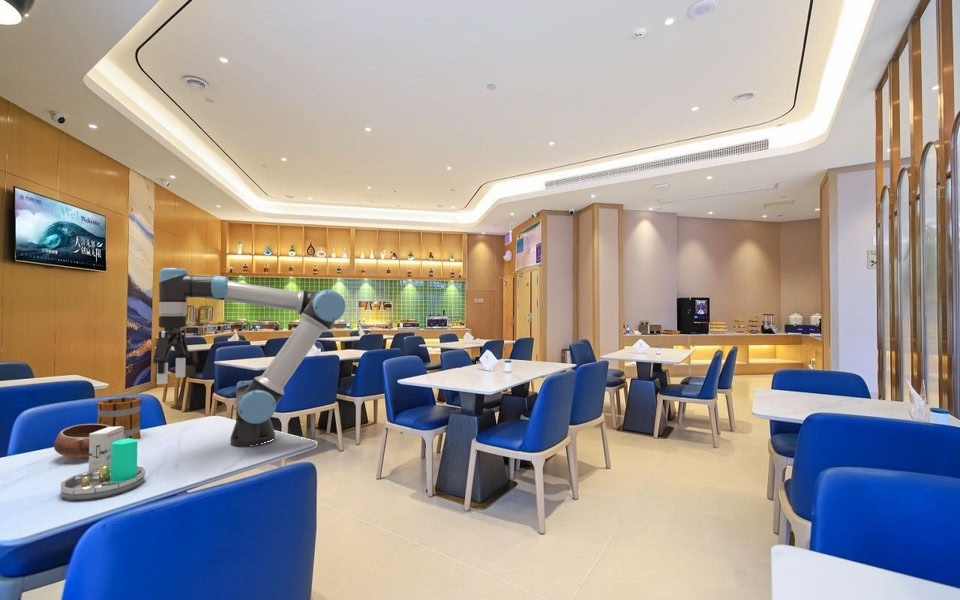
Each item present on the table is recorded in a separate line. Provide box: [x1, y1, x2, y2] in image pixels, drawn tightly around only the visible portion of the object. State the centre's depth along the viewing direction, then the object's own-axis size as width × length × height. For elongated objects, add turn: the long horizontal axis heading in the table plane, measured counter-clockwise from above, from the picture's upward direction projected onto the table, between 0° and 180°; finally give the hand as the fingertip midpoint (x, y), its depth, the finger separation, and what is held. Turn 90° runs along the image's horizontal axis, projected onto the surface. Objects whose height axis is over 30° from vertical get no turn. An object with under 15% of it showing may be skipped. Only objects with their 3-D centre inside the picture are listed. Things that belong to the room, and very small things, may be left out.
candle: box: [111, 436, 139, 481], centre depth 128 cm, size 6×6×12 cm
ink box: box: [88, 426, 124, 471], centre depth 144 cm, size 9×5×12 cm, turn 5°
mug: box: [96, 396, 142, 440], centre depth 174 cm, size 20×14×15 cm
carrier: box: [60, 465, 146, 502], centre depth 127 cm, size 18×18×6 cm
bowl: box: [53, 423, 111, 460], centre depth 153 cm, size 16×16×10 cm
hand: (171, 380), depth 148 cm, fingers open, 13 cm apart
